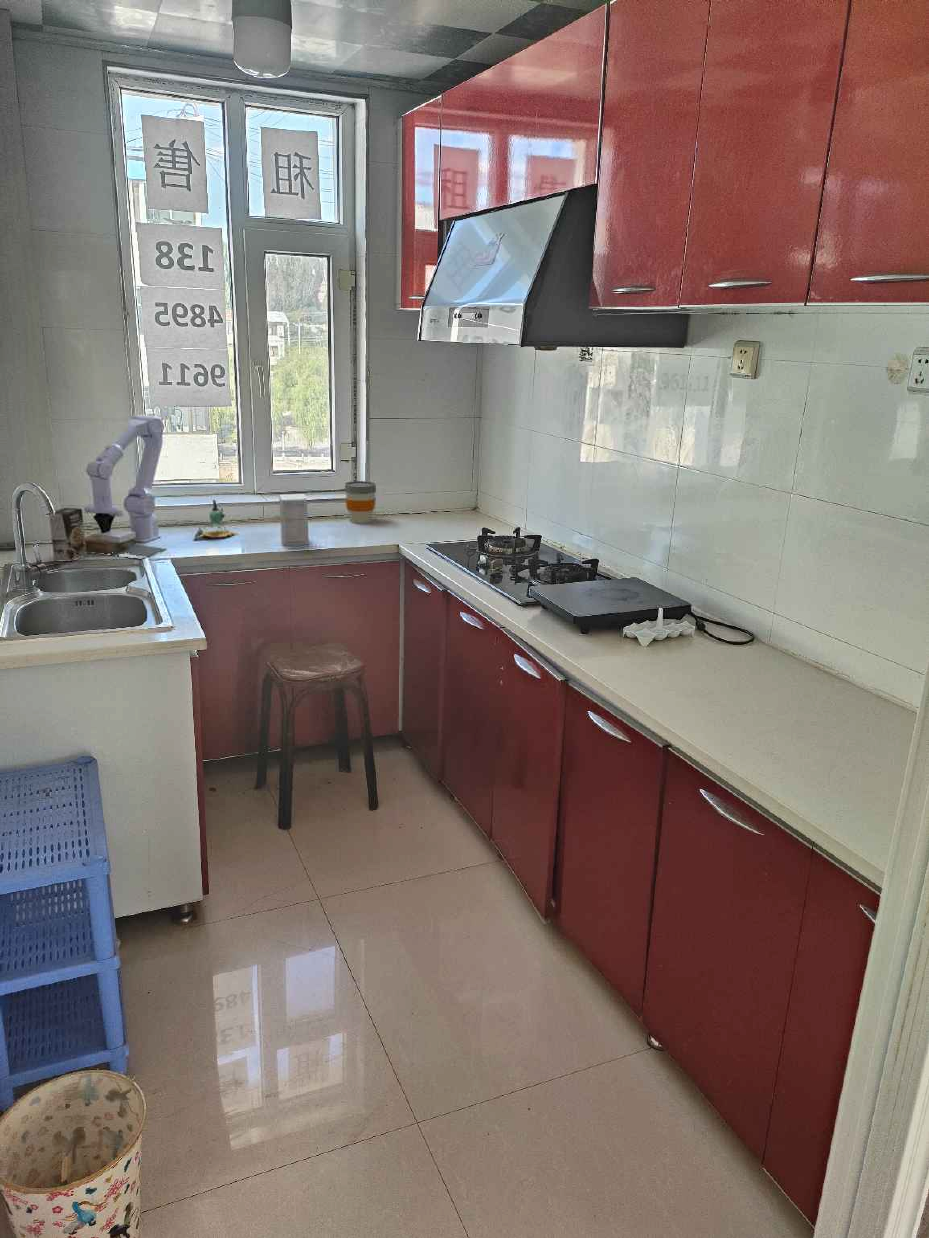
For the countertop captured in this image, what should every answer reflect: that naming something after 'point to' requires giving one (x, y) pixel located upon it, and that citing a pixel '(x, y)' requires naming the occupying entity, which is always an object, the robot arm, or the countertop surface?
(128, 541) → the flat brown box
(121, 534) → the tile
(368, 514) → the reusable coffee cup
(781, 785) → the countertop surface
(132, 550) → the mat
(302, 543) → the supplement box
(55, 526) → the coffee box
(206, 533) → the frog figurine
